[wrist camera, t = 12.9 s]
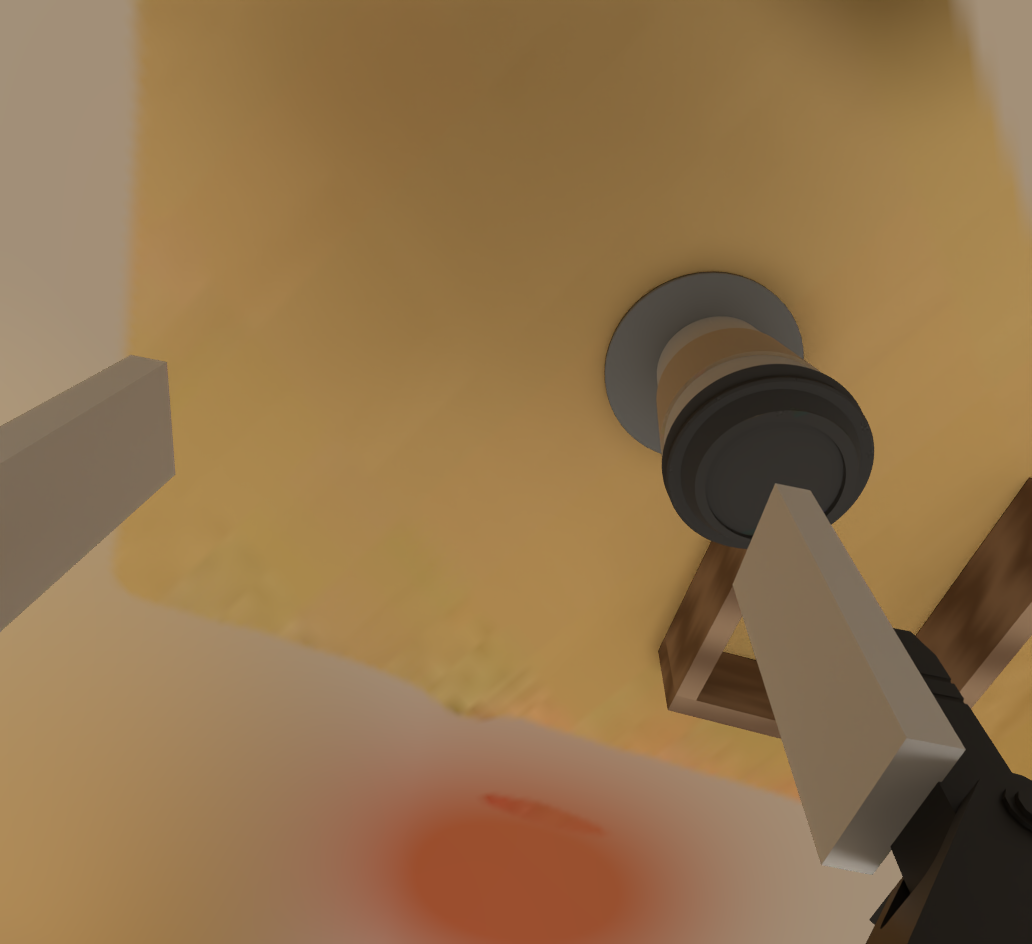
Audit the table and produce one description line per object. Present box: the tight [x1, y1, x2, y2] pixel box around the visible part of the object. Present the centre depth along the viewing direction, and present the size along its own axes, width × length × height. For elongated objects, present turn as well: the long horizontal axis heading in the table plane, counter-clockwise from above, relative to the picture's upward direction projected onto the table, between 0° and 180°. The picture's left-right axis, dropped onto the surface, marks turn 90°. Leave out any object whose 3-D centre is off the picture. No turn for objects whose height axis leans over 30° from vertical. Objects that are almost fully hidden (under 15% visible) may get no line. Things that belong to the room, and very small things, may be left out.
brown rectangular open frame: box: [658, 478, 1032, 738], centre depth 46 cm, size 22×19×6 cm
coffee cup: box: [656, 316, 874, 549], centre depth 35 cm, size 9×9×15 cm
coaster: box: [605, 272, 804, 453], centre depth 42 cm, size 12×12×1 cm
